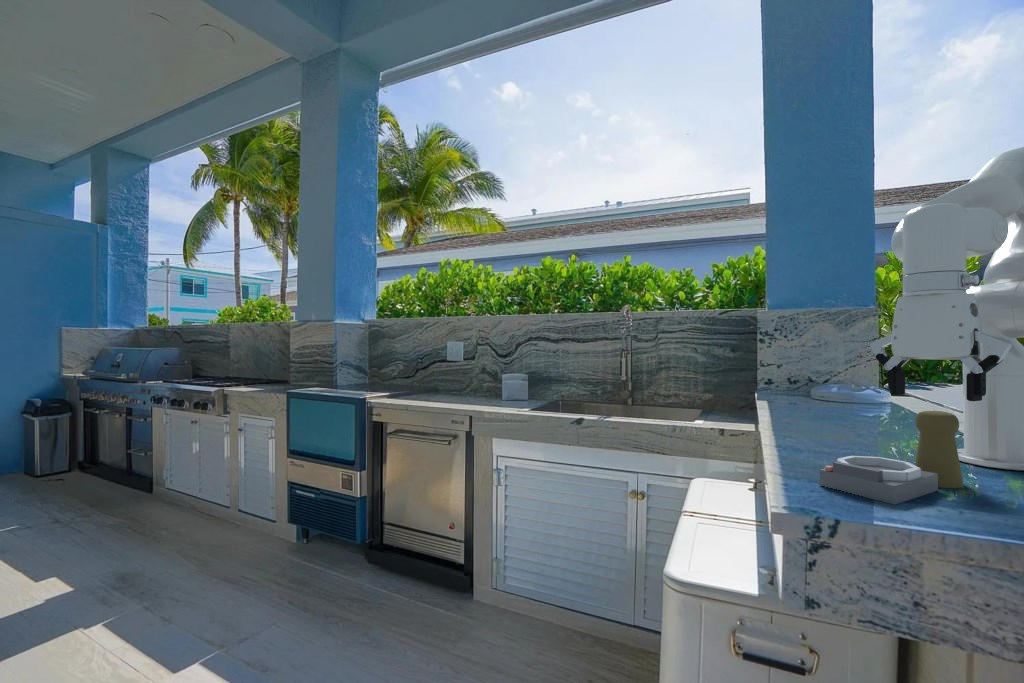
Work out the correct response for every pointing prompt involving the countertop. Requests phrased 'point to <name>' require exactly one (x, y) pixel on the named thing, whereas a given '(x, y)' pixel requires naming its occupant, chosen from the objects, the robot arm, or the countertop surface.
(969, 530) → the countertop surface
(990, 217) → the robot arm
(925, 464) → the cork
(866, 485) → the octagon ring plate
